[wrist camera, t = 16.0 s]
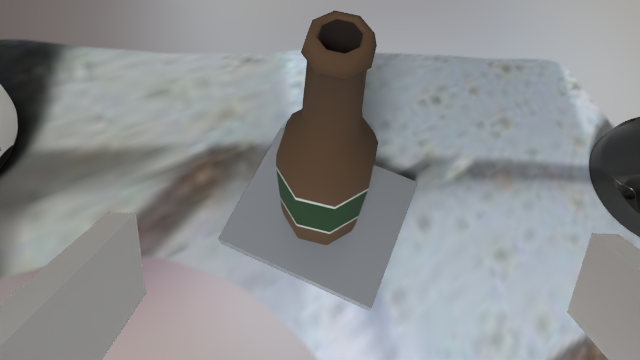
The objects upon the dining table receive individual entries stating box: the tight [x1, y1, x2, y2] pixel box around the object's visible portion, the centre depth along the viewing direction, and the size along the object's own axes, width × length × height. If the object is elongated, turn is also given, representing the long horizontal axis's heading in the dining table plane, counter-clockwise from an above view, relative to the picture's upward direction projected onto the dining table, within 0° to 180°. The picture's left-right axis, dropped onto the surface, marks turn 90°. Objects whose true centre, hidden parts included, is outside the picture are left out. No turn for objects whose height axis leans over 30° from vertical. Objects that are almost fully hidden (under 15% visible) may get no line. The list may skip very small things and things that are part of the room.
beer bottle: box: [276, 11, 378, 245], centre depth 30 cm, size 8×8×24 cm
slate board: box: [218, 128, 418, 310], centre depth 42 cm, size 16×14×2 cm
